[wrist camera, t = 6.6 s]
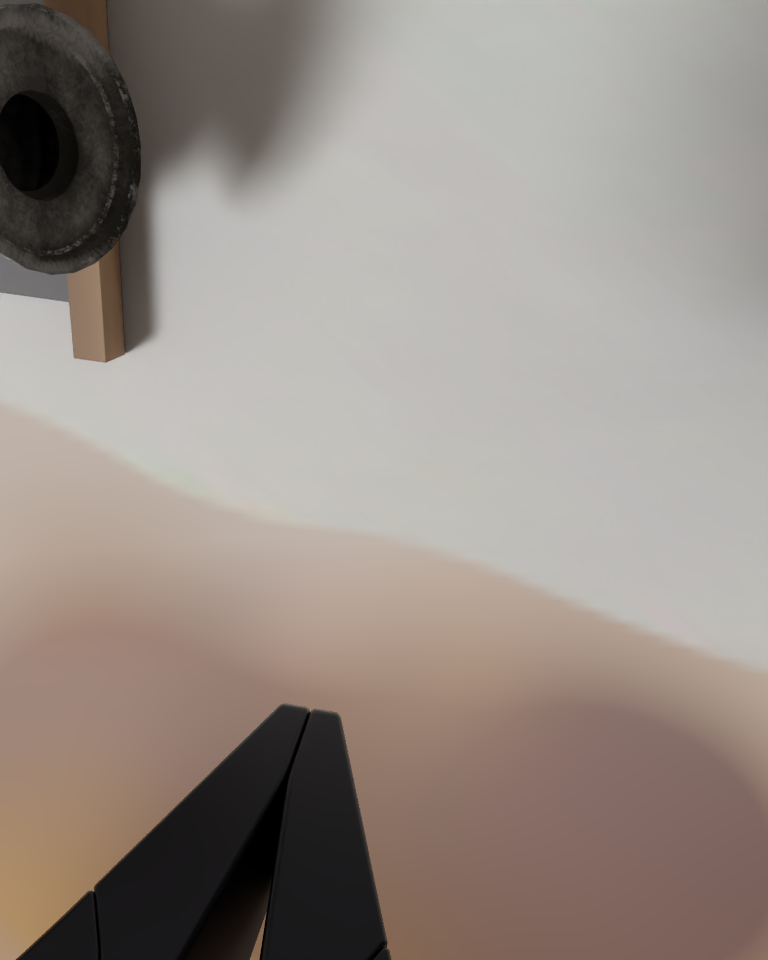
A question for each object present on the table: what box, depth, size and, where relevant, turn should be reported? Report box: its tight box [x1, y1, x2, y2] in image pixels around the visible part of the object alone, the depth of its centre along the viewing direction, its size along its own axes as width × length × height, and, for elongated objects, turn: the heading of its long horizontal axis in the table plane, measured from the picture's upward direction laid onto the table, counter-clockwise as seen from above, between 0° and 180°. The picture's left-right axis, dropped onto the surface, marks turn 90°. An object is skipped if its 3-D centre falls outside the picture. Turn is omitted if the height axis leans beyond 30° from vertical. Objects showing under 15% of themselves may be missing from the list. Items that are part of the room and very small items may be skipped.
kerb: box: [43, 0, 125, 363], centre depth 18 cm, size 1×11×1 cm, turn 174°
